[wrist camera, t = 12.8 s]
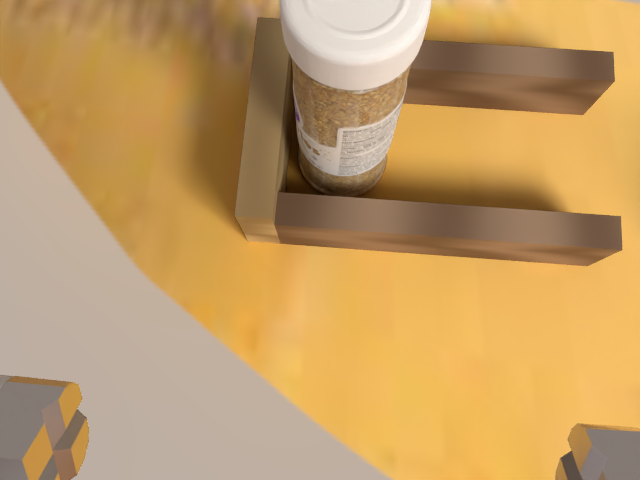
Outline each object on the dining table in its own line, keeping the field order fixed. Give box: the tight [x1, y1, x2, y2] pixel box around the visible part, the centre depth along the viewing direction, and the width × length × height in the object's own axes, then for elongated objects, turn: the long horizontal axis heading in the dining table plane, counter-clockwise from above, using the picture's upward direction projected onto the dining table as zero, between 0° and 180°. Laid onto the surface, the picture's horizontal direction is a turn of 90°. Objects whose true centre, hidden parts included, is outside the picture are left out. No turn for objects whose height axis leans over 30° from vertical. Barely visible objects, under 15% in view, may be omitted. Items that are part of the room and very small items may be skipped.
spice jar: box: [280, 0, 431, 197], centre depth 24 cm, size 5×5×13 cm
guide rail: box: [234, 17, 622, 266], centre depth 28 cm, size 17×10×4 cm, turn 86°
